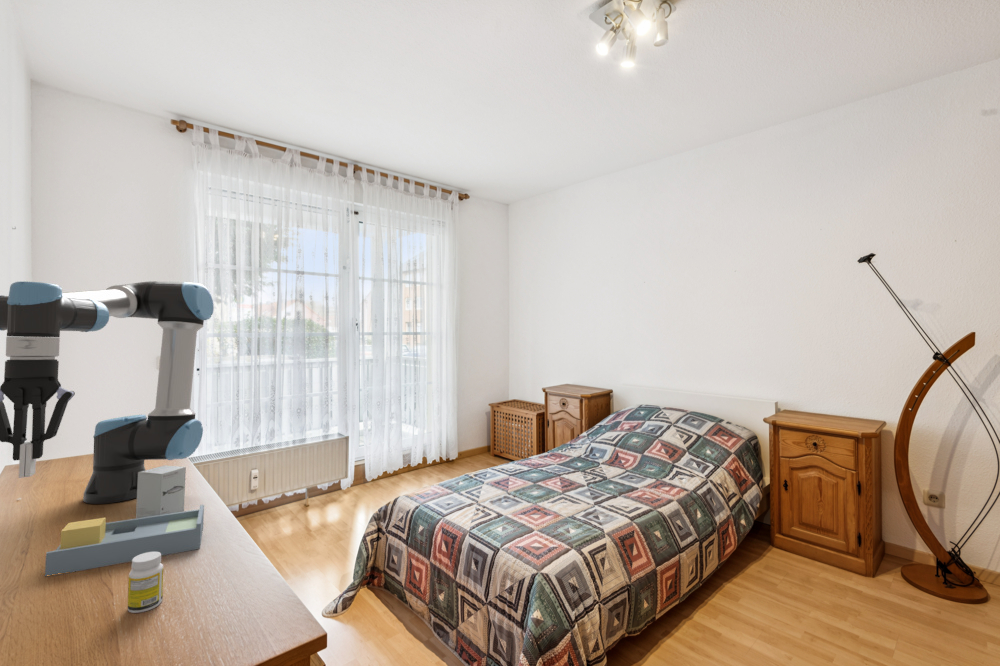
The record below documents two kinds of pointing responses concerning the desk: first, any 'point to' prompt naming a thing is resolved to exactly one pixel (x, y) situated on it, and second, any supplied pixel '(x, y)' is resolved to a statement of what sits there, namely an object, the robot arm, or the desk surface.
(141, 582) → the supplement bottle
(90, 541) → the block
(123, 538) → the tray
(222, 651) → the desk surface
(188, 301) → the robot arm
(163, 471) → the supplement box
